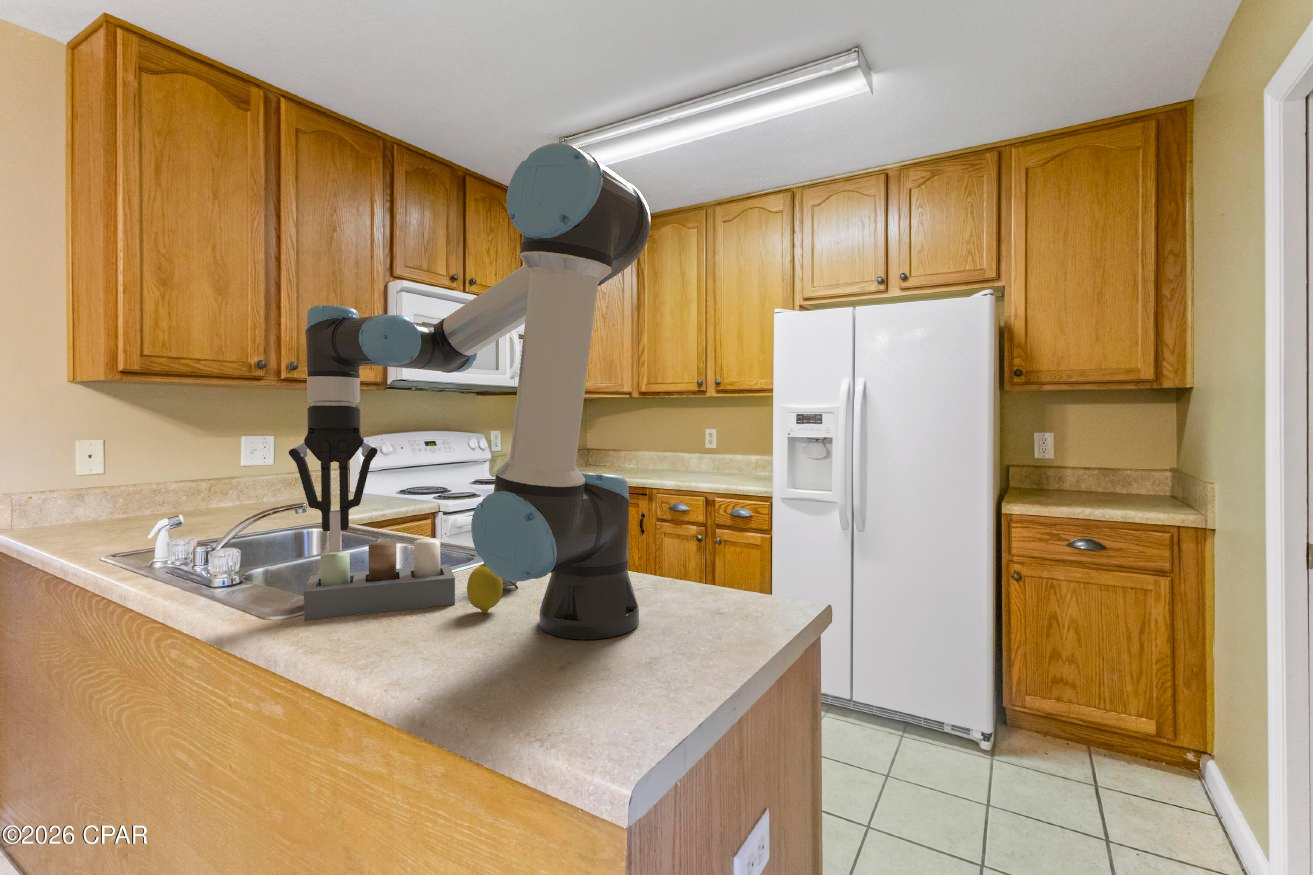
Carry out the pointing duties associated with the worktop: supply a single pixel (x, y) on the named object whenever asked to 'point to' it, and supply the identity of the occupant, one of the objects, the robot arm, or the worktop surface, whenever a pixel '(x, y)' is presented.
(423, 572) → the key ivory
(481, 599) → the lemon
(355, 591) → the grey slotted block
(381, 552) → the key walnut
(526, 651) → the worktop surface
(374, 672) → the worktop surface
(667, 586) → the worktop surface
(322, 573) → the key sage
